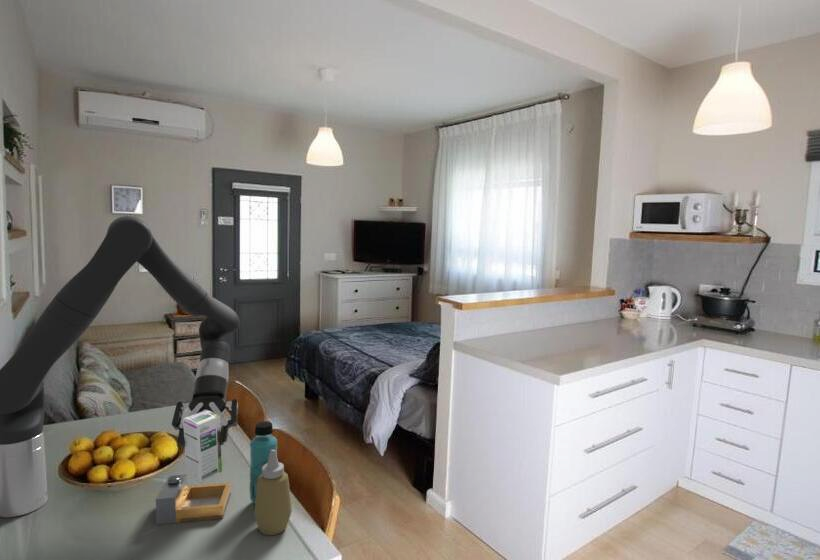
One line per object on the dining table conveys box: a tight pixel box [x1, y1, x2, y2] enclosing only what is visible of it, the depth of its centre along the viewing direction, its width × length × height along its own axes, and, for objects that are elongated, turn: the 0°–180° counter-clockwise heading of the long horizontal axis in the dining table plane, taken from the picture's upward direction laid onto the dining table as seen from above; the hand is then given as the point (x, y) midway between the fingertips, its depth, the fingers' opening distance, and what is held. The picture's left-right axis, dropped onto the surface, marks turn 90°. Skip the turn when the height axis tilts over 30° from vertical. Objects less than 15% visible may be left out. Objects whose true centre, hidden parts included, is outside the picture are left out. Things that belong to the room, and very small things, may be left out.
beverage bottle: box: [249, 420, 278, 504], centre depth 113 cm, size 6×7×20 cm
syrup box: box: [182, 409, 223, 484], centre depth 109 cm, size 6×6×14 cm
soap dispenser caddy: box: [155, 474, 232, 525], centre depth 110 cm, size 14×10×7 cm
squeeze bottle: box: [253, 450, 293, 536], centre depth 104 cm, size 8×8×18 cm
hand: (202, 445), depth 108 cm, fingers closed on syrup box, 8 cm apart
